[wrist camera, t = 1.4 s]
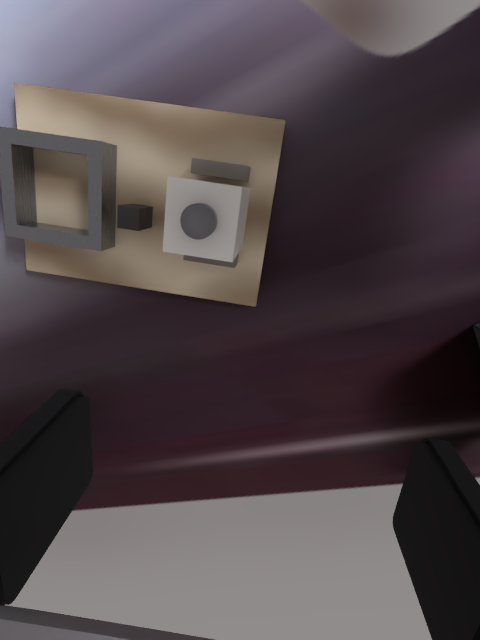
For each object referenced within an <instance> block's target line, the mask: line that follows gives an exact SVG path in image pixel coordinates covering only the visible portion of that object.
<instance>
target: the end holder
mask: <svg viewBox="0 0 480 640" xmlns="http://www.w3.org/2000/svg"><path fill="white" fill-rule="evenodd" d="M33 148H38V149H45V150H52V151H59V152H66V153H73V154H79V155H86V156H88V230H84V229H78V228H71V227H65V226H58V225H52V224H45V223H39V222H37V210H36V191H35V172H34V153H33ZM116 171H117V145H113V144H110V143H106V142H103V141H97V140H90V139H83V138H76V137H69V136H62V135H55V134H48V133H41V132H34V131H27V130H20V129H13V128H6V127H0V179H1V191H2V204H3V216H4V228H5V236H7V237H13V238H20V239H26V240H33V241H39V242H45V243H52V244H58V245H64V246H71V247H77V248H84V249H90V250H96V251H104V250H107V249H109V248H112V247H115V223H116Z"/></svg>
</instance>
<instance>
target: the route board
mask: <svg viewBox="0 0 480 640" xmlns="http://www.w3.org/2000/svg"><path fill="white" fill-rule="evenodd" d="M14 88H15V104H16V119H17V129H20V130H27V131H34V132H41V133H48V134H55V135H62V136H69V137H76V138H83V139H90V140H97V141H103V142H106V143H110V144H113V145H117V171H116V223H115V247H112V248H109V249H107V250H104V251H96V250H90V249H84V248H77V247H71V246H64V245H58V244H52V243H45V242H39V241H33V240H26V239H24V241H25V256H26V270H30V271H36V272H42V273H48V274H55V275H61V276H67V277H73V278H79V279H86V280H92V281H98V282H104V283H111V284H117V285H123V286H129V287H136V288H142V289H148V290H154V291H160V292H167V293H173V294H179V295H185V296H192V297H198V298H204V299H210V300H217V301H223V302H229V303H235V304H241V305H248V306H254V307H256V303H257V297H258V291H259V284H260V278H261V272H262V266H263V259H264V253H265V247H266V241H267V234H268V228H269V222H270V216H271V209H272V203H273V197H274V191H275V184H276V178H277V172H278V166H279V159H280V153H281V147H282V141H283V135H284V128H285V121H286V120H281V119H274V118H267V117H259V116H252V115H245V114H238V113H230V112H223V111H216V110H209V109H201V108H194V107H187V106H179V105H172V104H165V103H158V102H150V101H143V100H136V99H129V98H121V97H114V96H107V95H100V94H92V93H85V92H78V91H70V90H63V89H56V88H49V87H41V86H34V85H27V84H20V83H14ZM33 153H34V172H35V191H36V210H37V222H39V223H45V224H52V225H58V226H65V227H71V228H78V229H84V230H88V156H86V155H79V154H73V153H66V152H59V151H52V150H45V149H38V148H33ZM167 176H171V177H178V178H185V179H193V180H199V181H206V182H213V183H220V184H227V185H234V186H240V187H247V188H251V189H250V196H249V203H248V210H247V218H246V225H245V232H244V239H243V246H242V248H241V250H240V251H239V253H238V254H237V256H236V258H235V259H234V261H233V262H227V261H220V260H214V259H207V258H201V257H195V256H188V255H182V254H175V253H169V252H163V236H164V221H165V205H166V190H167Z"/></svg>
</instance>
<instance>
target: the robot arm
mask: <svg viewBox="0 0 480 640" xmlns="http://www.w3.org/2000/svg"><path fill="white" fill-rule="evenodd" d="M92 473H93V467H92V448H91V429H90V410H89V399H88V398H87V397H84V394H83V392H81V391H75V390H68V389H60V390H59V391H57V392H56V393H55V394H54V395H53V396H52V397H51V398H50V399H49V400H48V401H46V402H45V403H44V404H43V405H42V406H41V407H40V408H39V409H38V410H37V411H35V412H34V413H33V414H32V415H31V416H30V417H29V418H28V419H27V420H26V421H24V422H23V423H22V424H21V425H20V426H19V427H18V428H17V429H16V430H15V431H14V432H12V433H11V434H10V435H9V436H8V437H7V438H6V439H5V440H4V441H3V442H1V443H0V640H213V639H208V638H201V637H196V636H190V635H184V634H178V633H172V632H166V631H160V630H155V629H149V628H142V627H136V626H130V625H124V624H118V623H112V622H106V621H100V620H94V619H88V618H82V617H76V616H70V615H64V614H58V613H52V612H46V611H39V610H33V609H26V608H18V607H12V606H5V604H8V605H9V604H11V603H12V602H13V601H14V600H15V598H16V597H17V596H18V594H19V592H20V591H21V589H22V588H23V586H24V585H25V583H26V582H27V580H28V578H29V577H30V575H31V574H32V572H33V570H34V569H35V567H36V566H37V564H38V563H39V561H40V560H41V558H42V557H43V555H44V554H45V552H46V550H47V549H48V547H49V546H50V544H51V543H52V541H53V539H54V538H55V536H56V535H57V533H58V532H59V530H60V529H61V527H62V525H63V524H64V522H65V521H66V519H67V518H68V516H69V514H70V513H71V511H72V510H73V508H74V507H75V505H76V504H77V502H78V500H79V499H80V497H81V496H82V494H83V493H84V491H85V490H86V488H87V486H88V485H89V483H90V481H91V478H92ZM393 527H394V531H395V534H396V537H397V540H398V543H399V546H400V549H401V551H402V554H403V557H404V560H405V563H406V566H407V569H408V572H409V574H410V577H411V580H412V583H413V586H414V589H415V592H416V594H417V597H418V600H419V603H420V606H421V609H422V612H423V614H424V617H425V620H426V623H427V626H428V629H429V632H430V634H431V637H432V640H480V485H479V484H478V482H477V481H476V479H475V478H474V476H473V475H472V473H471V472H470V471H469V469H468V468H467V466H466V465H465V463H464V462H463V460H462V459H461V458H460V456H459V455H458V453H457V452H456V450H455V449H454V448H453V446H452V445H451V443H450V442H448V441H445V440H438V439H430V438H425V439H424V440H423V441H422V443H420V442H418V443H417V444H416V445H415V448H414V451H413V454H412V457H411V460H410V464H409V467H408V470H407V473H406V476H405V480H404V483H403V486H402V489H401V493H400V496H399V499H398V502H397V505H396V509H395V512H394V516H393Z"/></svg>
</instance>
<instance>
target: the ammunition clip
mask: <svg viewBox="0 0 480 640" xmlns="http://www.w3.org/2000/svg"><path fill="white" fill-rule="evenodd" d="M473 328H474V331H475V335H476V338H477V342H478V345H479V349H480V323H478V324H475V325H474V326H473Z"/></svg>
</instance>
